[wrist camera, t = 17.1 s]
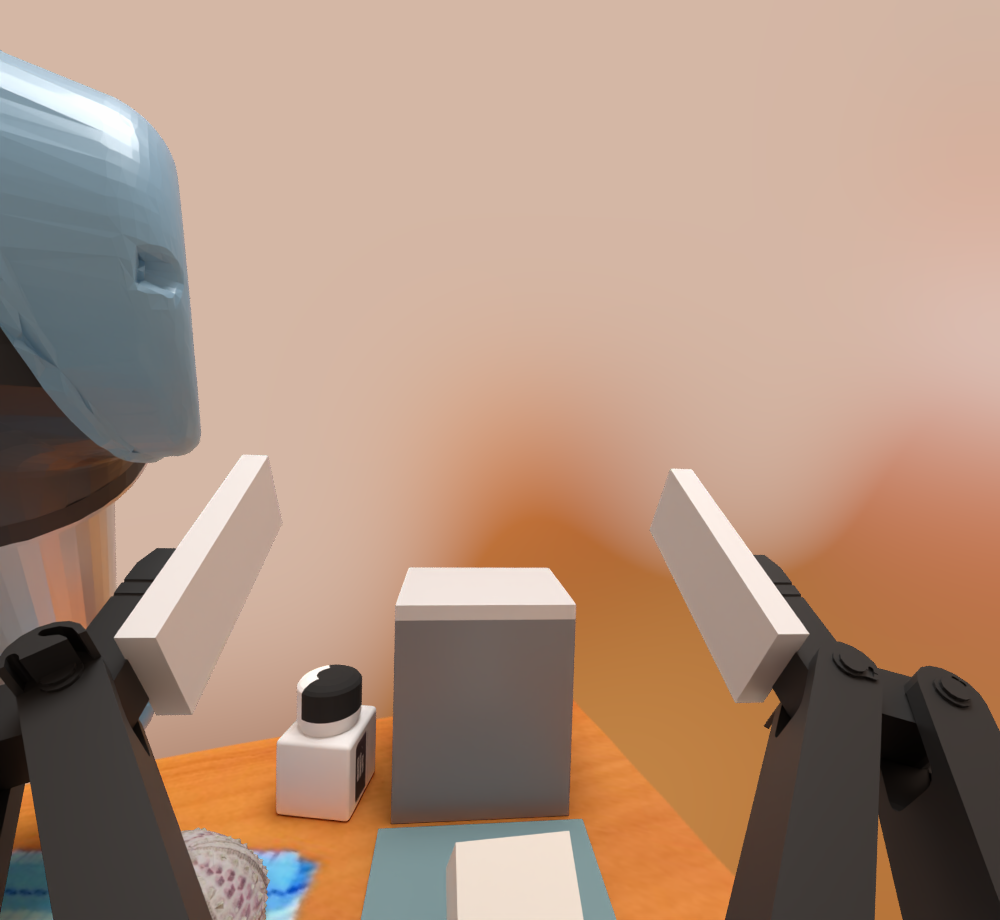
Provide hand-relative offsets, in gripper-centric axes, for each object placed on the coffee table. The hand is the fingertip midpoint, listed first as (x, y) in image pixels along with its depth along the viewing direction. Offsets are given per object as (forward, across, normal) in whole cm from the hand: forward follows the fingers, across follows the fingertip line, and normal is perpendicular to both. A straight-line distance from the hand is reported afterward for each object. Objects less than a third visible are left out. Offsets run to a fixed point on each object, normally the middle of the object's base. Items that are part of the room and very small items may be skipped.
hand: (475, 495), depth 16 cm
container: (+12, -13, -50) cm, 53 cm away
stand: (+14, +4, -51) cm, 53 cm away
